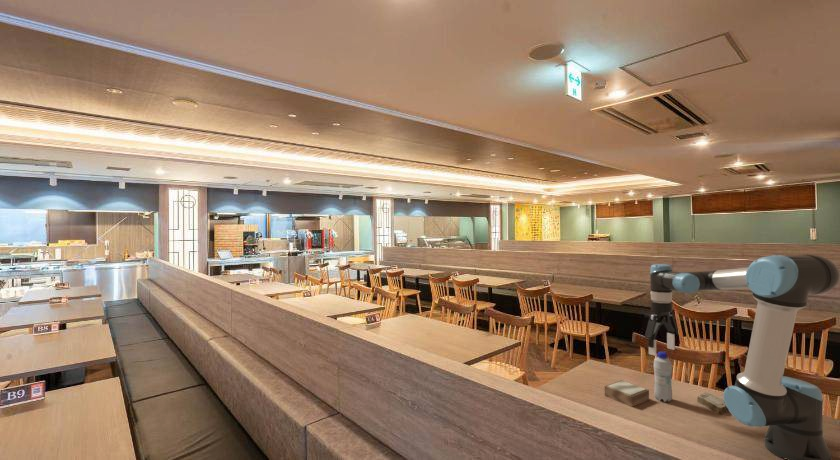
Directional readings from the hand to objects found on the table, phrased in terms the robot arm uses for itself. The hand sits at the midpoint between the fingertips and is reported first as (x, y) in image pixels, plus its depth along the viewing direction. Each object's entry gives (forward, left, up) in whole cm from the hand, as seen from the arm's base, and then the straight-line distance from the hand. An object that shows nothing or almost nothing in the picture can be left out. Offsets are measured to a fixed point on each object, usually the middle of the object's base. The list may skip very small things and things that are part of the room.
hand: (661, 351), depth 158 cm
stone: (-13, -12, -21) cm, 27 cm away
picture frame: (+9, +11, -20) cm, 24 cm away
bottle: (0, 0, -20) cm, 20 cm away
